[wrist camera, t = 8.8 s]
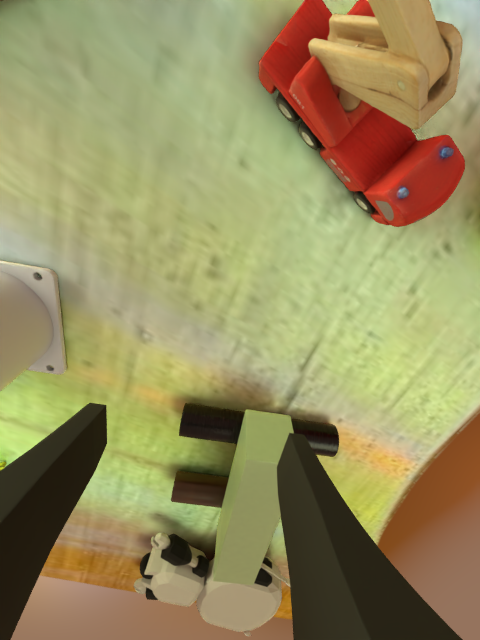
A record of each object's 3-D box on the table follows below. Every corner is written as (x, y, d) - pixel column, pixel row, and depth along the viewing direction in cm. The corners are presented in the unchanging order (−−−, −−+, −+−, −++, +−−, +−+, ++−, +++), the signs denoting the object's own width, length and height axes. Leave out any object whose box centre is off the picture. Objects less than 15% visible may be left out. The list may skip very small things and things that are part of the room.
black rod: (183, 419, 23) (177, 442, 21) (186, 396, 22) (180, 419, 20) (324, 438, 24) (331, 463, 22) (332, 418, 23) (342, 442, 21)
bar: (251, 529, 26) (253, 585, 22) (217, 525, 25) (212, 581, 22) (290, 415, 20) (301, 466, 16) (245, 408, 19) (246, 459, 16)
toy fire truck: (375, 229, 17) (523, 276, 8) (197, 12, 13) (94, -377, 4) (426, 183, 16) (662, 178, 7) (248, -68, 12) (264, -850, 3)
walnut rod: (176, 481, 27) (170, 507, 24) (178, 464, 26) (172, 490, 23) (299, 497, 27) (304, 523, 25) (306, 481, 26) (311, 507, 24)
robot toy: (140, 560, 34) (255, 593, 35) (123, 610, 30) (254, 646, 31) (162, 501, 29) (296, 542, 30) (145, 551, 25) (301, 597, 26)
